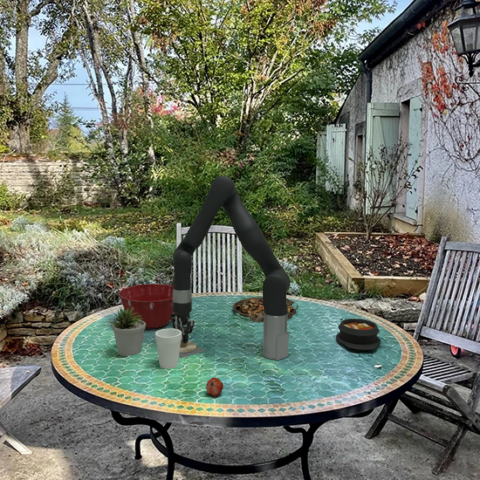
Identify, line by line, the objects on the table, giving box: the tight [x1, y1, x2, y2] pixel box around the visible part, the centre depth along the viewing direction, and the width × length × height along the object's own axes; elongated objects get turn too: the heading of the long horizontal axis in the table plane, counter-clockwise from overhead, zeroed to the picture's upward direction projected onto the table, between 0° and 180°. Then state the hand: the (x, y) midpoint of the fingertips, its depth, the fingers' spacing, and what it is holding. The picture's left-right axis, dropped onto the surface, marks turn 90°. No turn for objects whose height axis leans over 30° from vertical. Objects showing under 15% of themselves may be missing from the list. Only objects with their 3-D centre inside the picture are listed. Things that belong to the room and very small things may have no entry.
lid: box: [178, 328, 197, 354], centre depth 191 cm, size 11×11×8 cm
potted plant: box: [108, 307, 146, 357], centre depth 187 cm, size 13×14×20 cm
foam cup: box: [154, 328, 182, 370], centre depth 175 cm, size 10×9×13 cm
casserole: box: [335, 318, 382, 351], centre depth 203 cm, size 25×19×8 cm
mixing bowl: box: [118, 283, 174, 330], centre depth 221 cm, size 28×28×15 cm
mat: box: [179, 345, 207, 359], centre depth 192 cm, size 16×12×1 cm
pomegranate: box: [205, 376, 224, 397], centre depth 156 cm, size 6×6×8 cm
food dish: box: [232, 296, 299, 323], centre depth 243 cm, size 35×33×8 cm
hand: (182, 341), depth 191 cm, fingers closed on lid, 3 cm apart
